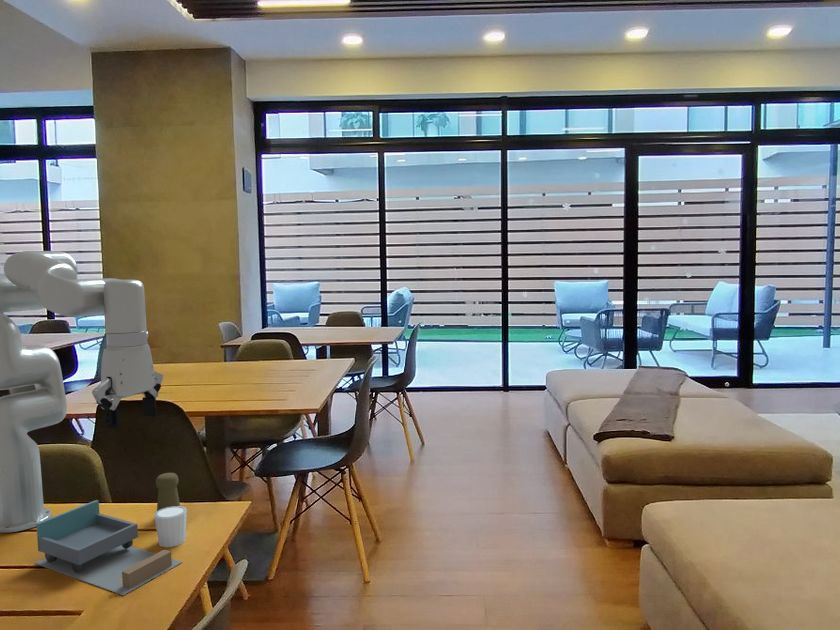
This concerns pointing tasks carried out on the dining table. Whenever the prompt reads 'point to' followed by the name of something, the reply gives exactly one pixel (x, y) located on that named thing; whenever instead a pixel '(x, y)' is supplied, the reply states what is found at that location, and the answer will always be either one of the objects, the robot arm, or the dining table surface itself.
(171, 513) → the white tapered cup
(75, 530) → the cart
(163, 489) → the olive pepper shaker
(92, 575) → the track
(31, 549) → the dining table surface
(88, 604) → the dining table surface
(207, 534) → the dining table surface
